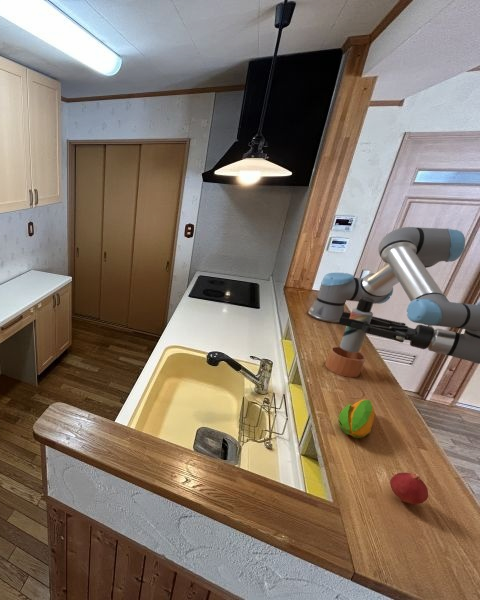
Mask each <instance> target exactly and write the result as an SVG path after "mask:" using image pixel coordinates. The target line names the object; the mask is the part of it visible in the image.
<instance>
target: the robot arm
mask: <svg viewBox="0 0 480 600" xmlns="http://www.w3.org/2000/svg"><path fill="white" fill-rule="evenodd" d="M465 247H466V238H465V235H464V233H463V232H462V231H461V230H458V229H454V228H453V229H451V228H437V227H435V228H434V227H419V226H418V227H416V226H415V227H414V226H405V227H399V228H397V229H394V230H391V231H390V232H389V233H387V234H385V236H383V238H382V239H381V240H380V242H379V245H378V248H377V249H378V256H379V257H380V259H381V261H383V262H384V263H385V265H384V266H383V267H381V268H380V269H379V270H378V271H376V272H373V273H368V274H366V275H365V276H363V277H355V276H354V274H351V273H347V272H329V273H326V274H324V275H323V276H322V277H323V278H322V280H321V282H320V286H319V289H318V293H317V296H316V300H315V301H314V302H313V304H312V305H311V306H310V308H309V309H308V312H307V315H308V316H309V317H311V318H312V319H315V320H318V321H321V322H326V323H331V324H338V325H341V326H345V327H346V326H349V327H353V328H357V329H361V330H362V331H364V333H366V335H371V336H376V337H379V338H385V339H389V340H392V341H395V342H399V343H404V342H405V341H408V342H409V345H410V347H412V348H416V349H421V350H426V349H427V350H428V351H430V352H433V353H435V354H436V355H445V356H448V357H453V358H457V359H461V360H464V361H468V362H472V363H475V364H479V365H480V300H479V301H478V302H477V304H470V303H462V302H452V301H450V300H449V298H447V296H446V295H445V294H444V292H443V291H442V290H441V288H440V286H439V284H437V282H436V281H435V279H434V278H433V276H432V275H431V273H430V272H429V271H428V269H427V268H431V267H433V266H435V265H437V264H438V263H440V262H445V263H450V262H456V261H457V260H458V259H459V258H460V257H461V256H462V254H463V252H464V249H465ZM397 284H400V285H401V287H402V289H403V291H404V292H405V294H406V295H407V297H408V300H409V301H410V302H409V303H408V305H407V308H406V312H407V314H406V317H407V319H408V320H409V321H410V322H412V323H415V324H417V325H416V326H415V328H412V327H409V326H408V325H407V324H406V323H405V322H400V321H395V320H391V319H386V318H382V317H377V316H374V315H373V316H372V319H371V321H370V324H367V321H365V323H364V322H362V321H358V320H354V319H349V318H350V315H351V312H346V311H345V304H346V302H347V301H348V302H349V301H350V302H357V303H358V302H359V300H360V298H362V297H368V298H371V299H373V300H374V303H373V305H374V304H375V305H376V304H377V305H379V304H380V305H381V304H384V303H386V302H388V301H389V300H390V299H391V297H392V295H393V293H394V286H395V285H397ZM433 326H435V327H437V328H434V327H433ZM439 327H442V328H439ZM443 328H452V329H461V330H464V332H463V333H460V332H456V331H451V330H447V329H443Z"/></svg>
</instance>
